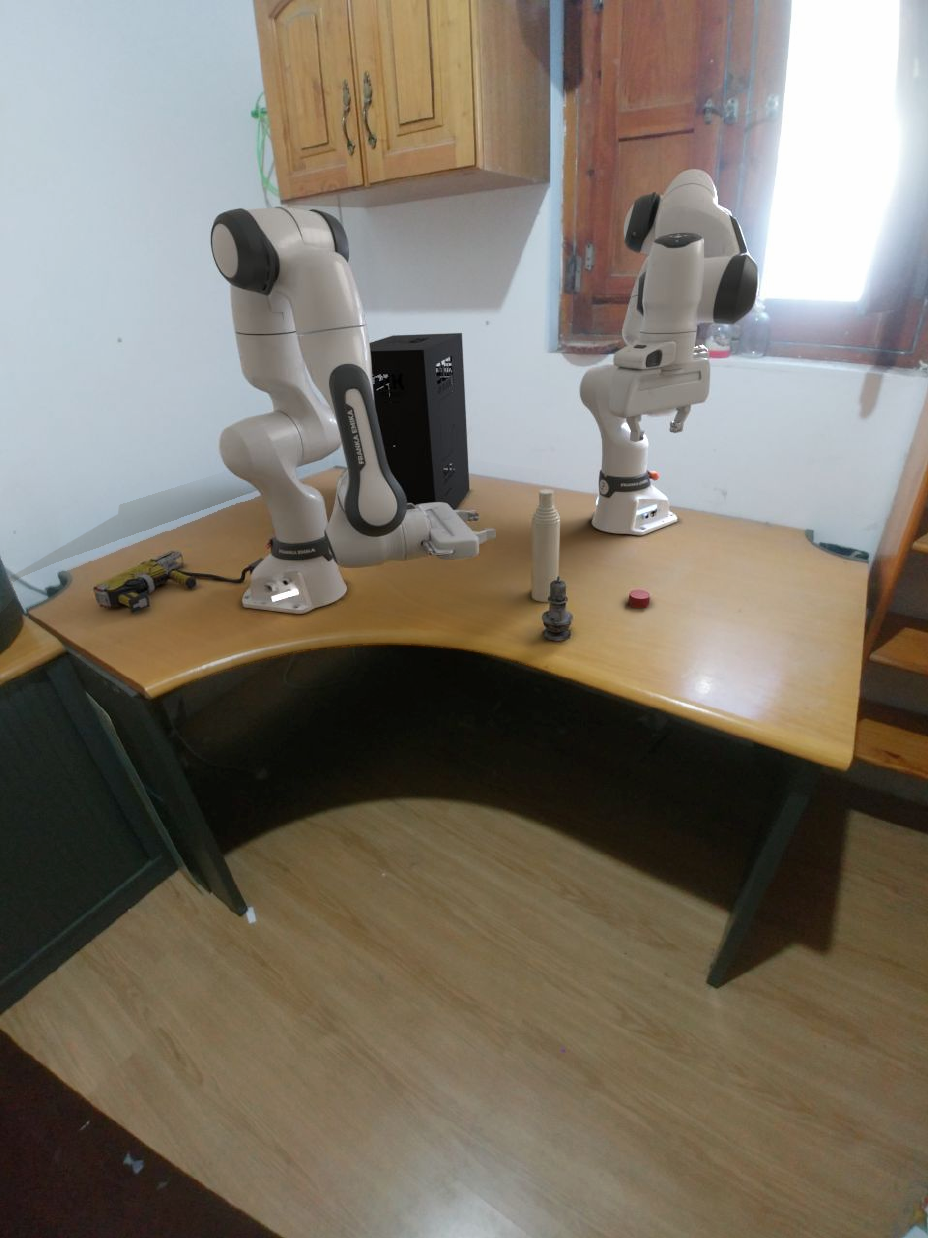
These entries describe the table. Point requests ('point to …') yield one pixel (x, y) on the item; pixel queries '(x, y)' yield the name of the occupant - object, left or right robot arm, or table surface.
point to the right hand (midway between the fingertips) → (656, 436)
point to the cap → (639, 598)
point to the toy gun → (141, 582)
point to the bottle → (545, 546)
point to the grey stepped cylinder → (557, 613)
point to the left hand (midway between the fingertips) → (485, 523)
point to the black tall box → (423, 414)
